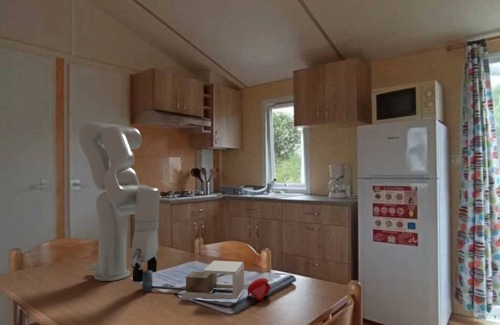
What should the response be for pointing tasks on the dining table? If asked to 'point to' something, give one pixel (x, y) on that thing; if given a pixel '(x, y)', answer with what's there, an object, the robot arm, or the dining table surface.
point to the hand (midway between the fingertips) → (144, 276)
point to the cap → (259, 288)
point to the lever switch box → (221, 268)
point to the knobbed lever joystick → (194, 282)
